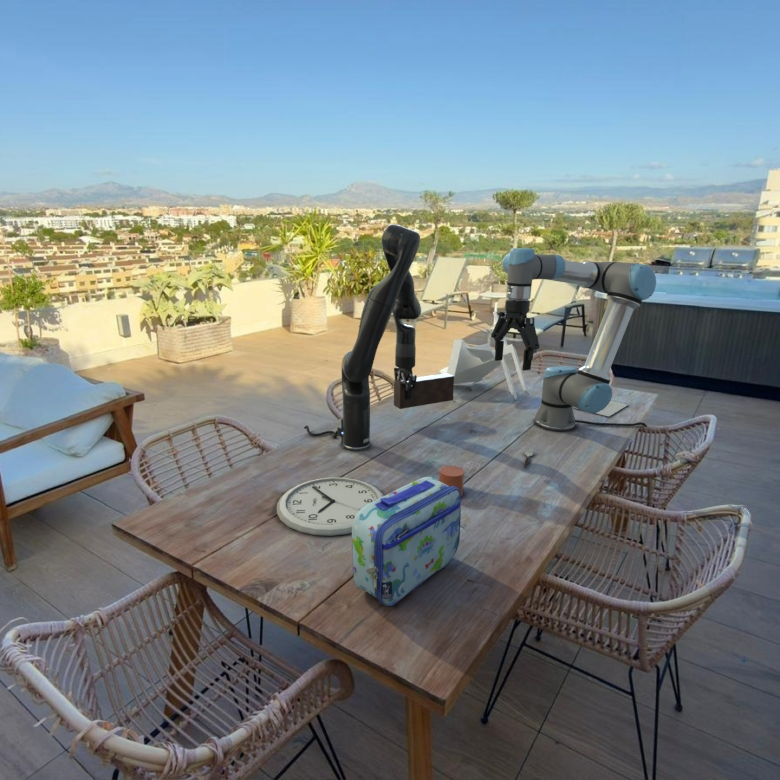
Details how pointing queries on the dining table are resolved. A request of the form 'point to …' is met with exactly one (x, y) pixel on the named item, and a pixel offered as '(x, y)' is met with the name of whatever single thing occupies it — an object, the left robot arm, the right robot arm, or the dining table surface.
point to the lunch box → (405, 538)
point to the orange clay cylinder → (452, 477)
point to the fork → (528, 455)
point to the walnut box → (425, 391)
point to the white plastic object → (482, 363)
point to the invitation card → (611, 408)
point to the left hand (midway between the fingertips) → (404, 397)
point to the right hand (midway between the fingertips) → (512, 365)
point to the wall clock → (325, 505)
